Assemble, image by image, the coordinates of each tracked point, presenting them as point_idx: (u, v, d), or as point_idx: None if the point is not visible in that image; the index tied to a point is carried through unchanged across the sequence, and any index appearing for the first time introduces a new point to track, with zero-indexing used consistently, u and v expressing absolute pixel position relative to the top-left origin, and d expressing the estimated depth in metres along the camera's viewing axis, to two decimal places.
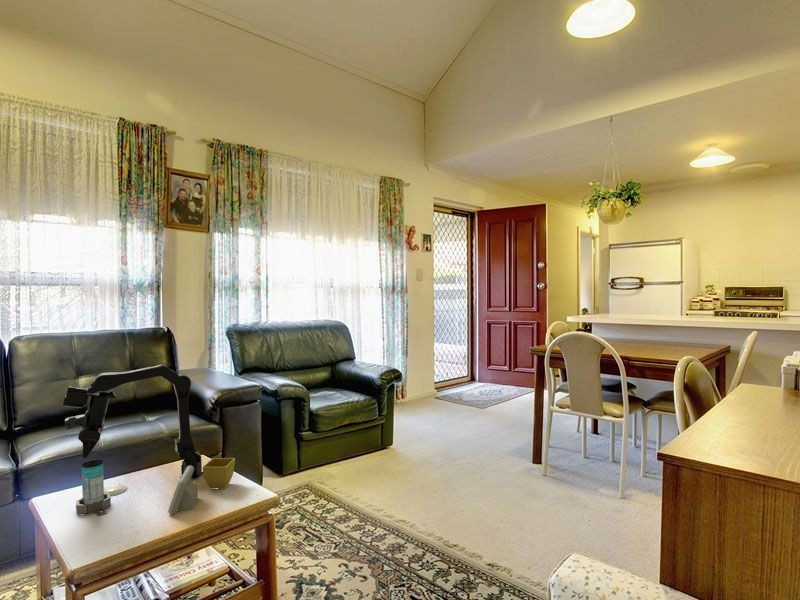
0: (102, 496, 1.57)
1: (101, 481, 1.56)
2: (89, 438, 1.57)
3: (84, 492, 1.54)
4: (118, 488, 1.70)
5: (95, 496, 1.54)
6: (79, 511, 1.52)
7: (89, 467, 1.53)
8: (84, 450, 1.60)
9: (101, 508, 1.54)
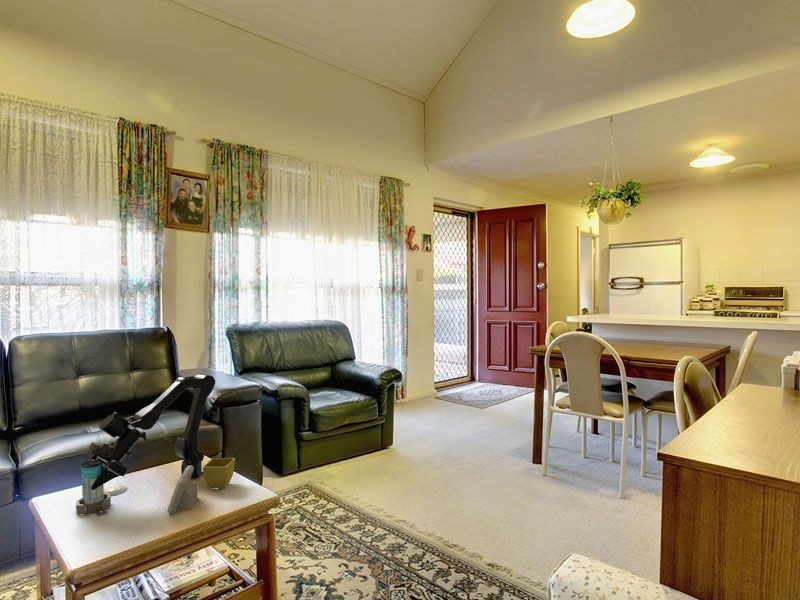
0: (102, 496, 1.57)
1: None
2: (117, 471, 1.54)
3: (84, 492, 1.54)
4: (118, 488, 1.70)
5: (95, 496, 1.54)
6: (79, 511, 1.52)
7: (89, 467, 1.53)
8: (98, 481, 1.54)
9: (101, 508, 1.54)
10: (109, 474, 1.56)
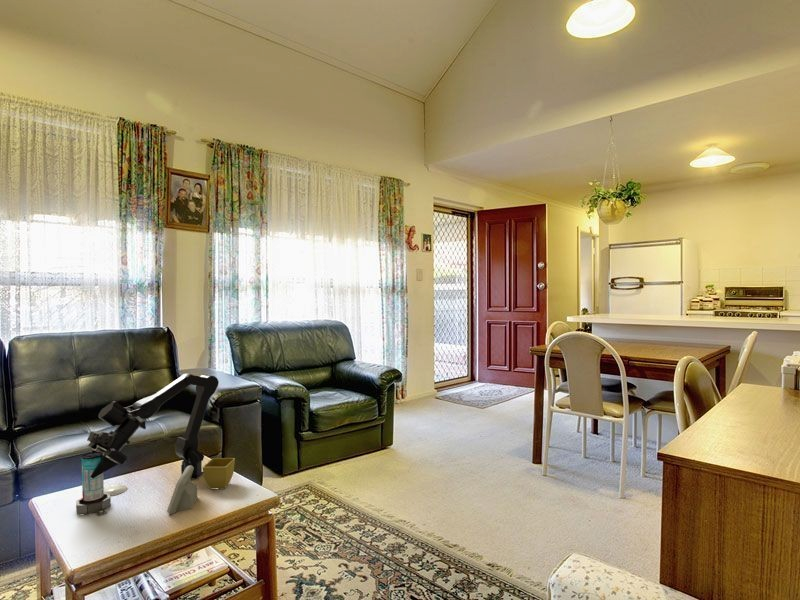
0: (102, 488, 1.57)
1: None
2: (117, 460, 1.54)
3: (84, 483, 1.54)
4: (118, 488, 1.70)
5: (95, 488, 1.54)
6: (79, 511, 1.52)
7: (89, 459, 1.53)
8: (97, 470, 1.54)
9: (101, 508, 1.54)
10: (109, 463, 1.56)
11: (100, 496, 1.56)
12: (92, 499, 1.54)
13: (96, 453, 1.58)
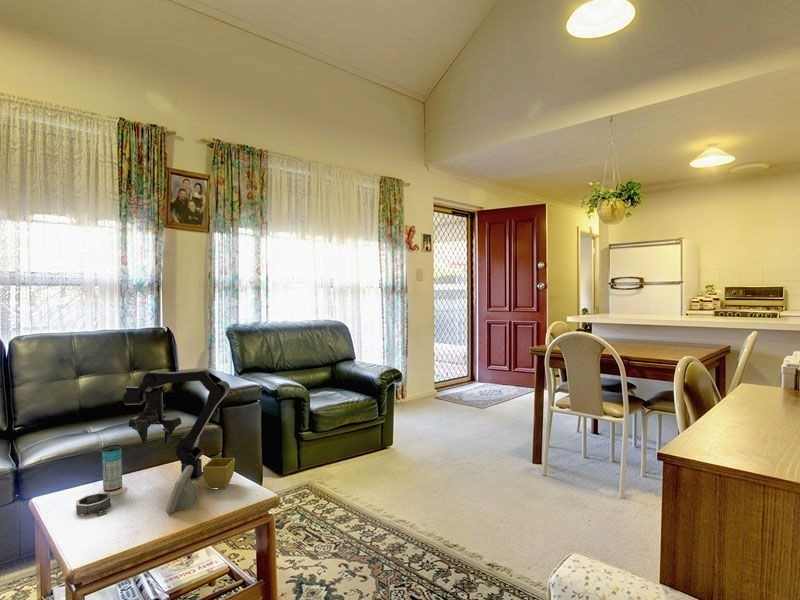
0: (118, 479, 1.69)
1: (117, 465, 1.69)
2: (177, 424, 1.80)
3: (103, 473, 1.68)
4: None
5: (111, 478, 1.67)
6: (79, 511, 1.52)
7: (105, 451, 1.67)
8: (167, 438, 1.80)
9: (101, 508, 1.54)
10: (170, 428, 1.81)
11: (116, 487, 1.68)
12: (108, 489, 1.67)
13: (117, 446, 1.72)
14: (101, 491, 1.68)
